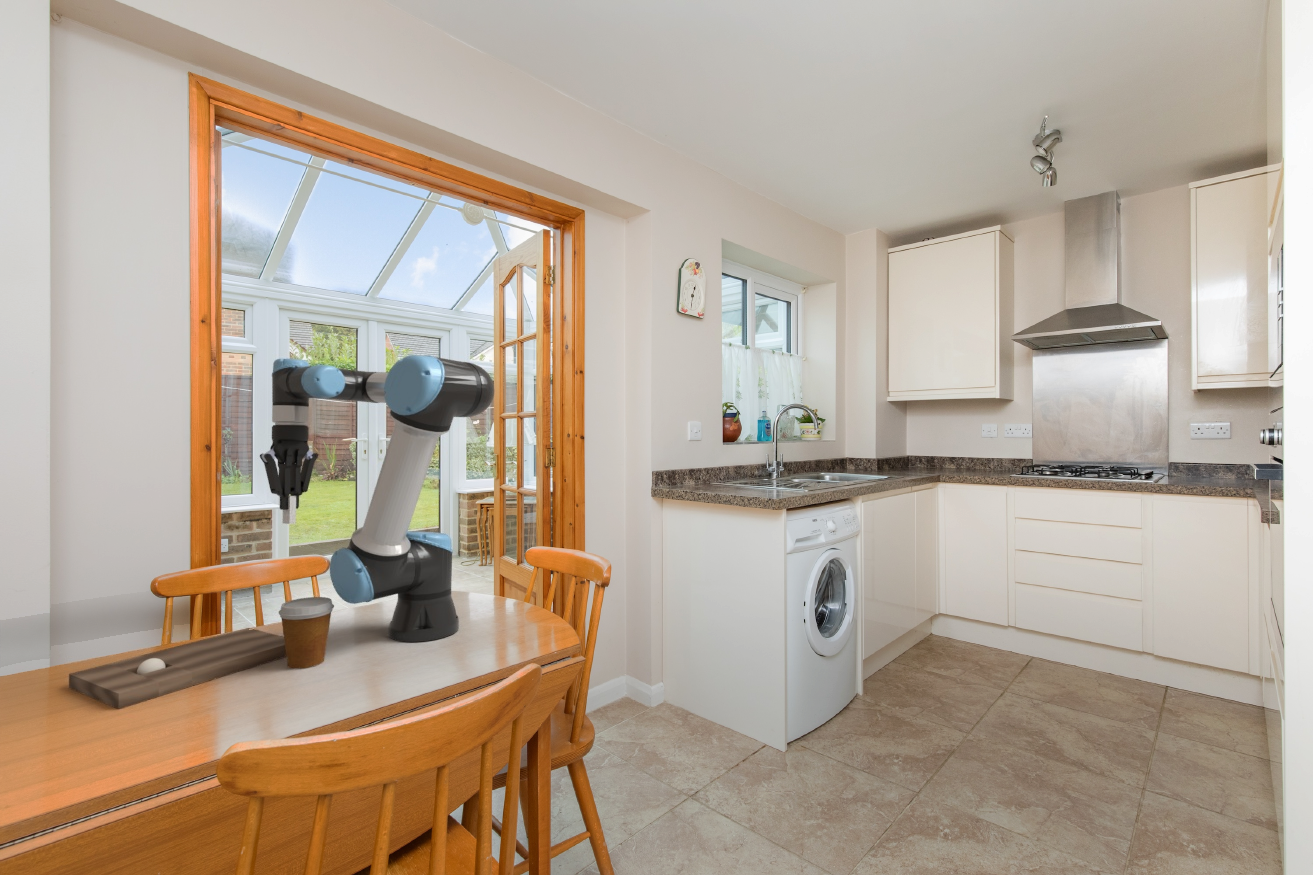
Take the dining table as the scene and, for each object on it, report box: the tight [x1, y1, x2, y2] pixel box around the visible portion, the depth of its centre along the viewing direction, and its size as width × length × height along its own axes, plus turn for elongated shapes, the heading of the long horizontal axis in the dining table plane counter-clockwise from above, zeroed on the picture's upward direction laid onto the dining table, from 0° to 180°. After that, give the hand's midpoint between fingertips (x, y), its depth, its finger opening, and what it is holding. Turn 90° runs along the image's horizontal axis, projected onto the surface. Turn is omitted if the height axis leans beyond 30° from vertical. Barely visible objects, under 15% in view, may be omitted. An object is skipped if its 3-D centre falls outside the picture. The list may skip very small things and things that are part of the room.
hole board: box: [68, 627, 287, 710], centre depth 115 cm, size 18×30×2 cm, turn 153°
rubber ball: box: [137, 658, 166, 675], centre depth 109 cm, size 4×4×4 cm
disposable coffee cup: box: [278, 596, 335, 669], centre depth 119 cm, size 10×10×12 cm
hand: (289, 523), depth 143 cm, fingers closed
